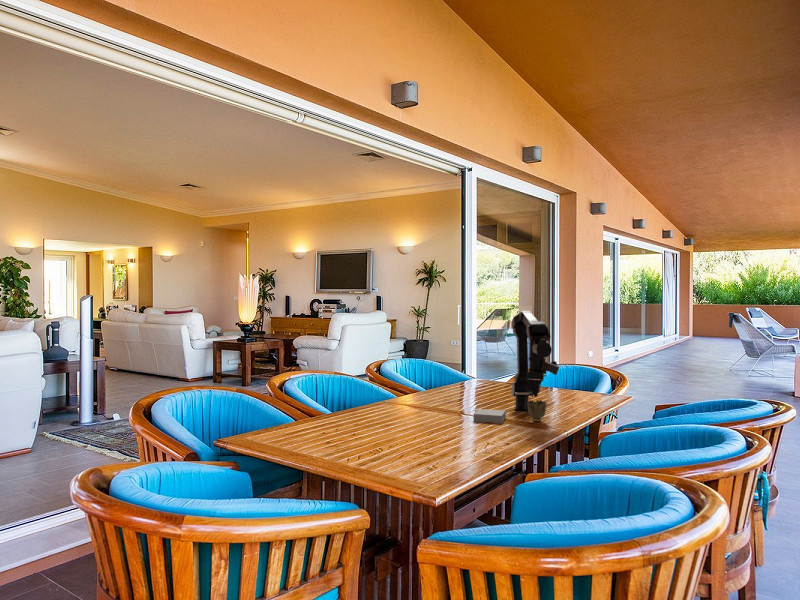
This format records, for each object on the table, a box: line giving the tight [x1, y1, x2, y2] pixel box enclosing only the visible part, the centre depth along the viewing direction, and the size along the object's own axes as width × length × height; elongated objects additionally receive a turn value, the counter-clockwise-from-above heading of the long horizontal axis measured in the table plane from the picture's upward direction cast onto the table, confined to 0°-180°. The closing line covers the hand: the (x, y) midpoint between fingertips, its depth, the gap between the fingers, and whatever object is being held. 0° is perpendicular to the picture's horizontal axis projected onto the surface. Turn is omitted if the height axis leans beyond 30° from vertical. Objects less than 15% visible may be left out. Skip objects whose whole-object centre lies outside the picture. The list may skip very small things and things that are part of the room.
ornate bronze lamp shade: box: [527, 399, 547, 423], centre depth 223 cm, size 8×7×8 cm
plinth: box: [473, 408, 507, 424], centre depth 227 cm, size 11×11×3 cm
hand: (536, 394), depth 223 cm, fingers open, 9 cm apart
